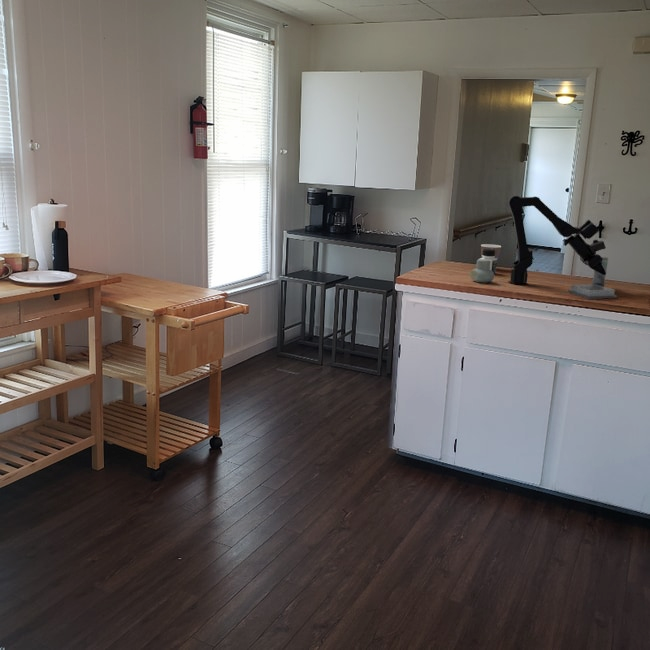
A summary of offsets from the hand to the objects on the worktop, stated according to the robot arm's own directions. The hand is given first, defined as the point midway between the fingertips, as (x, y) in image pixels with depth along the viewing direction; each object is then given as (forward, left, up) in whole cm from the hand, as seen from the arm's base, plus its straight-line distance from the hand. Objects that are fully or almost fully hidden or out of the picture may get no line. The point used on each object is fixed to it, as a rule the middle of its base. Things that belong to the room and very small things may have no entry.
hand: (603, 272), depth 297 cm
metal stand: (-14, -12, -7) cm, 20 cm away
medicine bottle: (-32, +44, -8) cm, 55 cm away
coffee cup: (-24, +56, -8) cm, 61 cm away
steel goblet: (-1, +1, -7) cm, 7 cm away
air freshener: (-47, +22, -8) cm, 52 cm away
